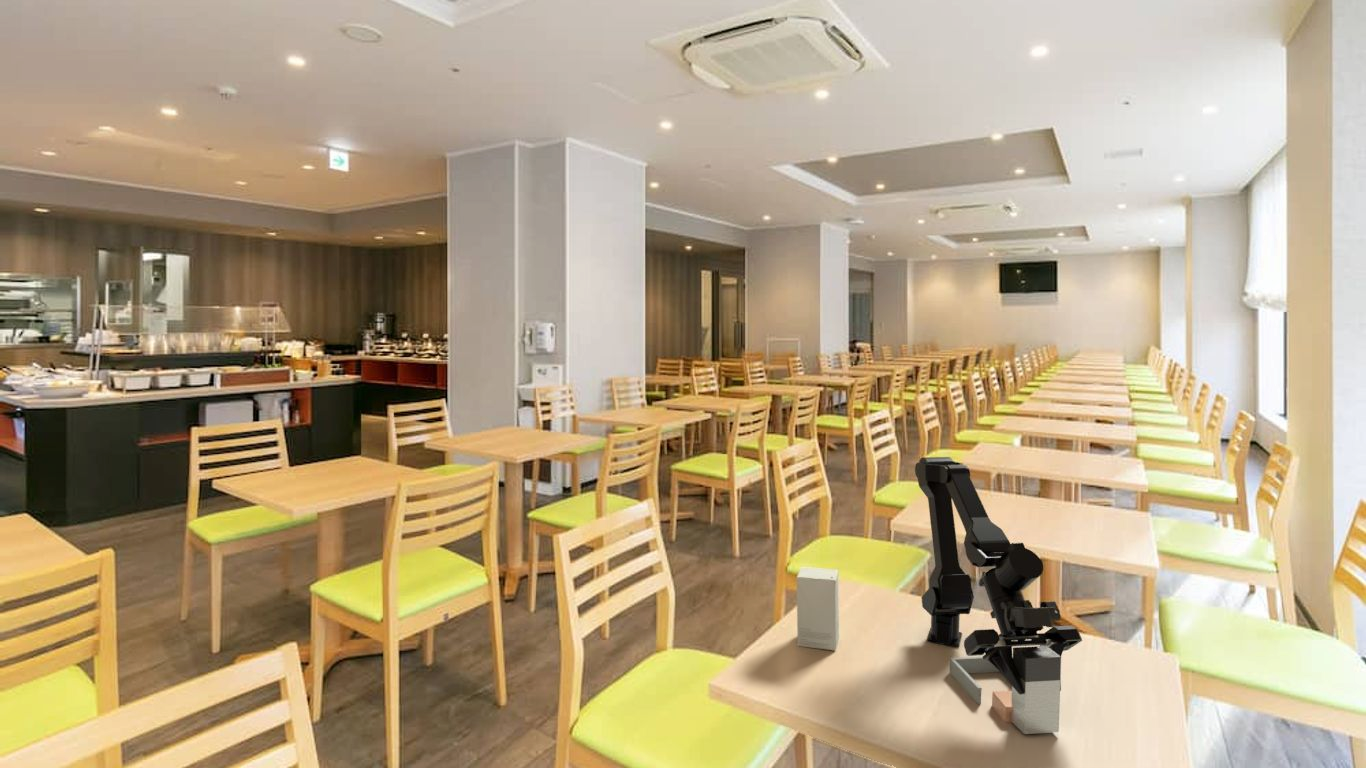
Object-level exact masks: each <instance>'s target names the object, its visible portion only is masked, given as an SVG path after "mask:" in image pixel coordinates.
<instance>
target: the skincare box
mask: <svg viewBox="0 0 1366 768" xmlns="http://www.w3.org/2000/svg"><path fill="white" fill-rule="evenodd" d="M839 594H840V593H839V569H834V568H833V569H832V568H821V567H810V566H803V565H802V566H801V567H800V569H799V572H798V573H797V576H796V615H797V616H796V617H797V618H796V619H797V623H796V624H797V625H796V626H797V628H796V629H797V647H803V648H804V647H805V648H812V649H819V650H828V651H836V650H837V647H838V643H839V638H840V623H839V622H840V616H839V614H840V611H839V609H840V608H839V604H840V603H839V602H840V601H839V600H840V599H839Z"/></svg>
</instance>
